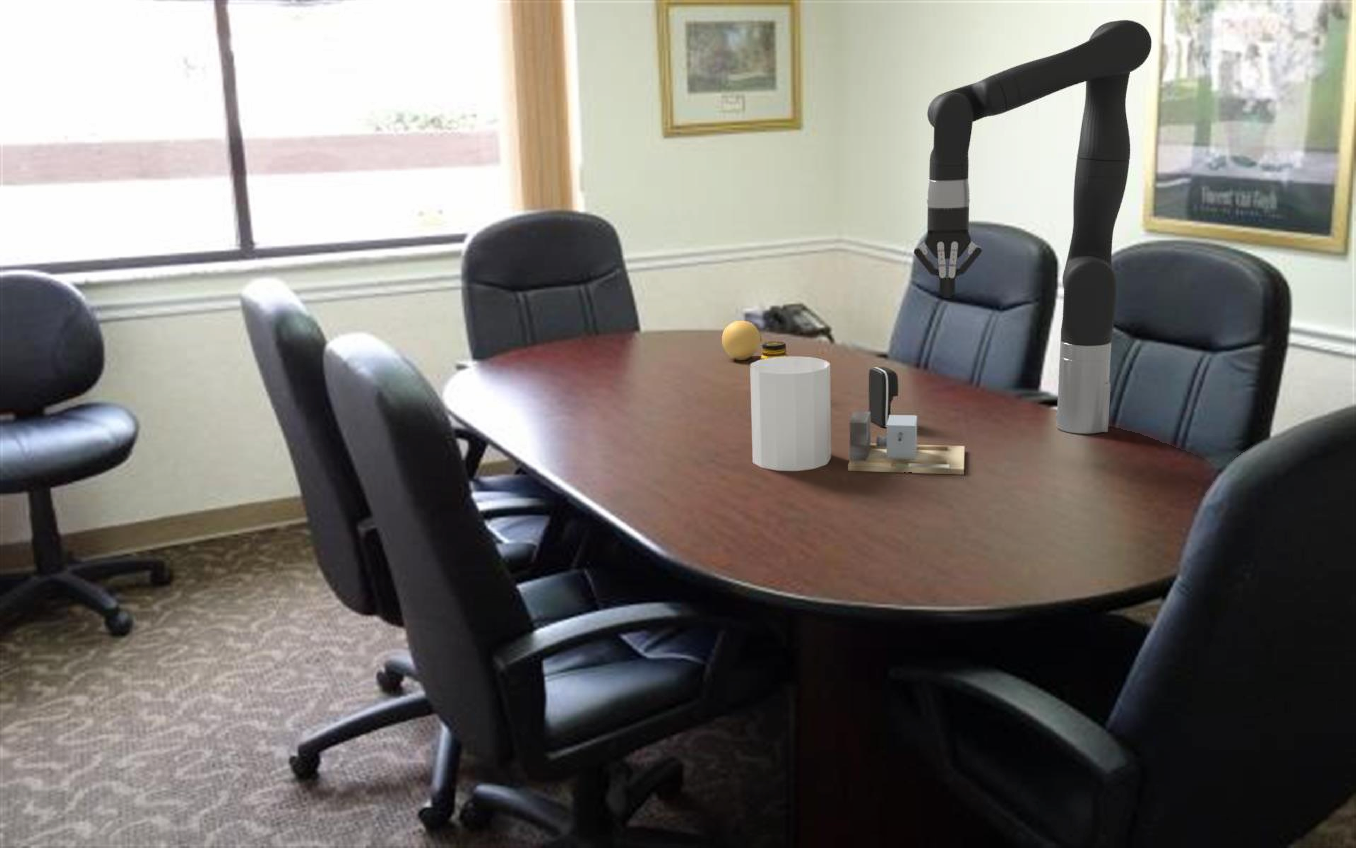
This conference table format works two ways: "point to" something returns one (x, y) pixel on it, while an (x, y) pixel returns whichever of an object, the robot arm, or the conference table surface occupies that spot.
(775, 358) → the container
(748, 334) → the stress ball
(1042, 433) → the conference table surface
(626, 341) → the conference table surface
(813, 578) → the conference table surface
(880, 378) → the battery charger
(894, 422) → the block
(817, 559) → the conference table surface
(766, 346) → the condiment
